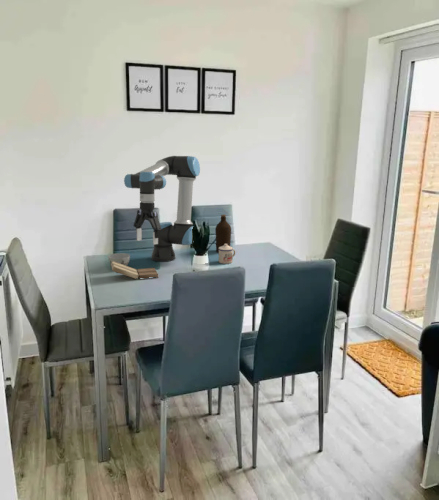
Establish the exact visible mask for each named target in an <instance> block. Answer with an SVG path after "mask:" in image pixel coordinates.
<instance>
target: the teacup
mask: <svg viewBox="0 0 439 500" xmlns="http://www.w3.org/2000/svg"><path fill="white" fill-rule="evenodd" d="M107 257H108V261H109V264H110V265H111V263H112V261H114V262H117V263H120V264H123V265H125V266H128V264H129V263H130V259H131V255H130V253H126V252H122V253H112V254H109V255H108V256H107Z"/></svg>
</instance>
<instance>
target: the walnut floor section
mask: <svg viewBox="0 0 439 500" xmlns="http://www.w3.org/2000/svg"><path fill="white" fill-rule="evenodd" d="M136 271H137V273H138V275H139V276H138V278H139V277H140V278H149V277H158V278H159V273H158V271H157V270H156V268H155V267H147V268H145V267H144V268H136ZM140 278H139V279H140Z"/></svg>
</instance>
